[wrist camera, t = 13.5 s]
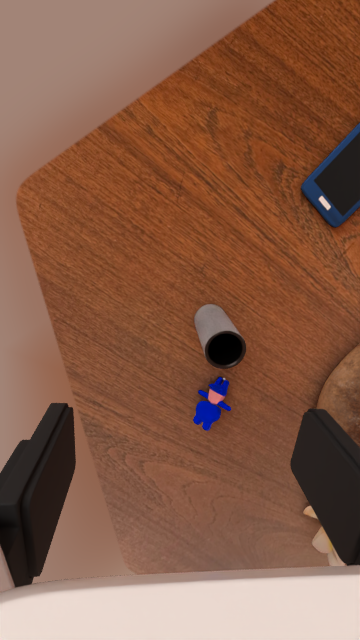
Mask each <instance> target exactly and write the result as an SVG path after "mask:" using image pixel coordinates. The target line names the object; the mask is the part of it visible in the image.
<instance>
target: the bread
mask: <svg viewBox="0 0 360 640" xmlns="http://www.w3.org/2000/svg"><path fill="white" fill-rule="evenodd" d="M316 409H325V410H326V411H327V412H328V413H329V414H330V415H331V416H332V417H333V418H334V420H335V421H336V422H337V423H338V424H339V425H340V426H341V427H342V428H343V430H344V431H345V432H346V433H347V434H348V435H349V436H350V437H351V438H352V440H353V441H354V442H355V443H356V444H357V445H358V446H359V447H360V344H359V345H358V346H356V347H355V348H354V349H353V350H351V351H350V352H349V353H348V354H347V356H346V357H345V358H344V359H343V360H342V361H341V362H340V363H339V364H338V365H337V367H336V368H335V369H334V370H333V371H332V373H331V374H330V376H329V377H328V379H327V380H326V382H325V384H324V386H323V389H322V391H321V393H320V396H319V399H318V402H317V406H316Z"/></svg>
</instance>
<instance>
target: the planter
mask: <svg viewBox="0 0 360 640" xmlns="http://www.w3.org/2000/svg"><path fill="white" fill-rule="evenodd" d="M194 322H195V327H196V330H197V333H198V336H199V339H200V342H201V345H202V348H203V351H204V354H205V357H206V359H207V361H208V362H209V363H210V364H211V365H212V366H214V367H216V368H220V369H227V368H231V367H234V366H235V365H237V364H238V363H239V362H241V360H242V359H243V357H244V356H245V353H246V343H245V341H244V339H243V337H242V336H241V334H240V333H239V332H238V330H237V329H236V327H235V326H234V325H233V323H232V322H231V320H230V319H229V317H228V316H227V315H226V313H225V312H224V310H223V309H222V308H220V307H219V306H217V305H214V304H208V305H205V306H203V307H201V308H200V309H199V310H198V311H197V312H196V314H195V318H194Z"/></svg>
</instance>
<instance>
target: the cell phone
mask: <svg viewBox="0 0 360 640" xmlns="http://www.w3.org/2000/svg"><path fill="white" fill-rule="evenodd" d="M301 190H302V192H303V193H304V195H305V196H306V197H307V199H308V200H309V201H310V202H311V203H312V205H313V206H314V207H315V208H316V209H317V210H318V212H319V213H320V214H321V215H322V216H323V218H324V219H325V220H326V221H327V222H328V224H329V225H331V226H332V227H338V226H340V225H341V224H342V223H343V222H344V221H345V220H346V219H347V218H348V217H349V216H351V215H352V214H353V213H354V212H355V211H356V210H357V209H358V208H359V207H360V123H359V124H358V125H357V126H356V127H355V128H354V129H353V130H352V131H351V132H350V133H349V134H348V135H347V137H346V138H345V139H344V140H343V141H342V142H341V143H340V144H339V145H338V146H337V147H336V148H335V149H334V150H333V151H332V152H331V153H330V155H329V156H328V157H327V158H326V159H325V160H324V161H323V162H322V163H321V164H320V165H319V166H318V167H317V168H316V169H315V170H314V172H313V173H312V174H311V175H310V176H309V177H308V178H307V179H306V180H305V181H304V183H303V184H302V186H301Z"/></svg>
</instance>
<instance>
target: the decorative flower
mask: <svg viewBox="0 0 360 640" xmlns="http://www.w3.org/2000/svg"><path fill="white" fill-rule="evenodd" d="M303 513H304V514H306V515H308V516H310V517H312V518H316V519H318V518H317V516H316V514H315V512H314V510H313V509H312V507H311V506H308V507H306V508H305V510H304V512H303ZM320 524H321V523H320ZM312 545H313V546H314V547H315V548H316V549H317V550H318V551H319V552H322V553H327V557H328V561H329V564H330V566H344V563H343V562H342V561H341V559H340V558H339V556H338V554H337V553H336V551H335V549H334V547H333V545H332V543H331V542H330V540H329V538H328V536H327V534H326V532H325V531H324V529H323V527H321V528H320V529H319V531H318V532H317V534H316V535H315V537H314V539H313V541H312Z"/></svg>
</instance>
